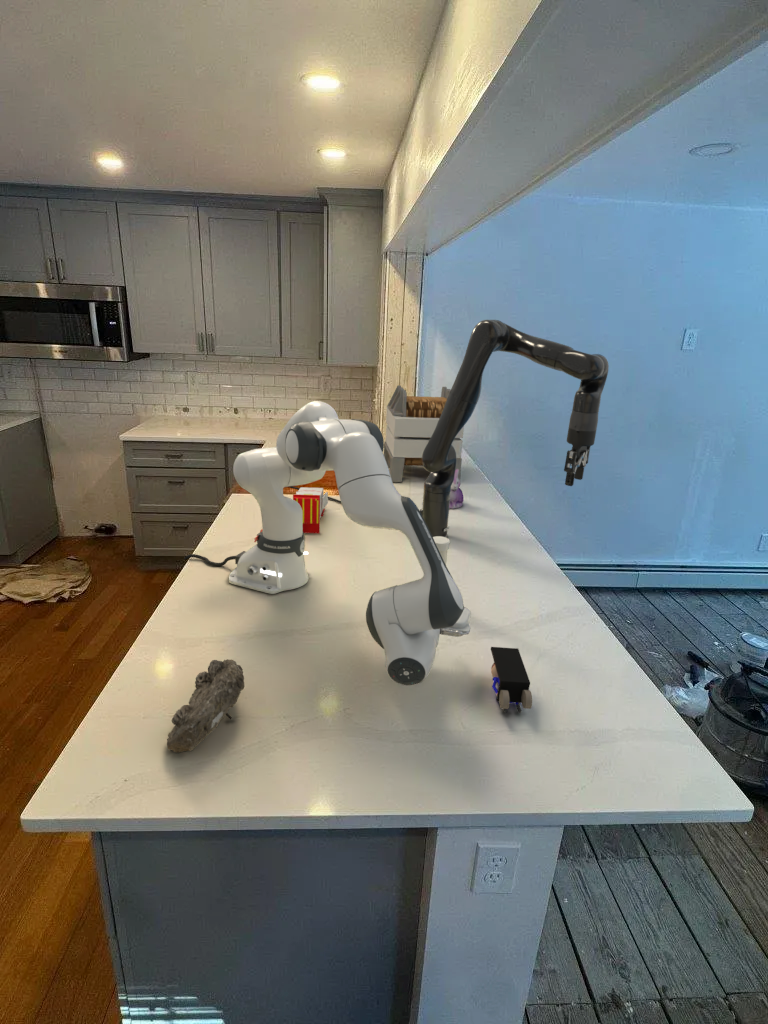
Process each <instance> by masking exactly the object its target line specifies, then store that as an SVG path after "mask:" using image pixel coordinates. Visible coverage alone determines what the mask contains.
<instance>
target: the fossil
mask: <svg viewBox="0 0 768 1024" xmlns="http://www.w3.org/2000/svg"><path fill="white" fill-rule="evenodd" d="M243 670H244V669H243V667H242V665H240V664H237V662H236V661H235V660H234V659H232V658H231V659H227V658H226V659H224V660H223V661H222V660H217V659H212V660H211V661H210V663H209V665H208V666H207V671H201V672H199V673H198V674H197V675H196V676H195V680H194V684H195V685H194V687H195V689H194V690H193V693H192V694H191V697H190V698H189V700H188V704H184V705H182V706H181V707H180V709H177V710H176V711H175V713H174V715H173V716H172V718H171V723H172V724H173V727H172V730H171V731H170V732H168V734H167V738H166V741H167V742H166V745H167V749H168V750H169V751H173V752H174V753H176V754H178V753H182V752H188V751H189V752H192V751H193V750H195V748H196V747H197V746H199V744H200V743H201V742H203V741H204V740H205V739H206V738H207V737H208V736H209V735H210V734H211V733H212V732H214V730H215V729H217V727H218V726H219V724H220V722H221V721H222V720H223V719H224V718H225V716H226V717H227V719H229V720H233V717H232V715H230V714H229V710H230V709H231V708H234V706H235V704H236V703H237V702H238V699H239V697H240V695H241V693H242V691H243V690H245V689H244V688H245V675H244V671H243Z"/></svg>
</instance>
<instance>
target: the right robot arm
mask: <svg viewBox="0 0 768 1024" xmlns="http://www.w3.org/2000/svg"><path fill="white" fill-rule="evenodd" d="M467 343H468V344H467V347H466V350H465V354H464V357H463V360H462V363H461V364H460V367H459V370H458V372H457V374H456V377H455V379H454V382H453V384H452V386H451V387H450V390H451V391H450V393H449V395H448V398H447V400H446V403H445V406H444V408H443V411H442V413H441V416H440V418H439V421H438V423H437V426H436V428H435V430H434V432H433V434H432V436H431V438H430V440H429V442H428V444H427V445H426V447H425V449H424V451H423V454H422V464H423V466H422V467H423V468H424V470H425V471H427V472H428V473H429V474H428V476H427V477H426V478H425V480H424V482H423V493H422V496H423V497H422V506H421V508H420V509H419V511H420V513H421V514H422V516H423V518H424V520H425V522H426V524H427V526H428V528H429V530H430V533H431V535H432V537H436V536H441V537H446V538H448V530H450V526H448V525H449V517H450V516H449V514H450V508H449V505H450V493H451V486H452V483H453V481H454V476H455V468H456V451H455V449H454V447H453V446H452V445H451V444H452V442H453V440H454V438H455V437H456V435H457V434H458V433H459V431H460V430H461V429H462V428H463V426H464V427H465V425H466V424H467V423H468V421H469V420H470V418H471V417H472V415H473V414H474V411H475V409H476V407H477V404H478V402H479V400H480V397H481V392H482V381H483V375H484V371H485V368H486V366H487V364H488V362H489V359H490V358H491V356H492V354H493V353H495V352H505V353H511V354H515V355H518V356H521V357H524V358H526V359H528V360H530V361H531V362H533V363H535V364H538V365H540V366H542V367H545V368H549V369H552V370H555V371H559V372H562V373H564V374H566V375H568V376H571V377H573V378H575V379H577V380H580V383H579V387H578V389H577V390H576V391H575V394H574V397H573V403H572V410H571V414H570V417H569V422H568V429H567V436H566V442H567V444H569V445H571V446H572V447H571V449H570V450H569V449H568V450H567V451H566V456H565V462H564V468H563V471H564V472H565V473H566V475H565V481H564V485H565V486H567V487H573V486H574V483H575V480H579V481H582V480H583V478H584V472H585V468H586V467H587V465H588V463H589V458H590V451H591V447H593V446H594V444H595V441H596V436H597V435H596V434H597V430H598V423H599V412H600V406H601V400H602V394H603V392H604V389H605V385H606V382H607V379H608V375H609V367H610V366H609V361H608V359H607V358H606V356H605V355H603V354H602V353H601V354H600V353H592V354H591V353H587V352H583V351H579V350H576V349H574V348H573V347H572V346H569V345H566V344H563V343H560V342H556V341H552V340H550V339H545V338H542V337H537V336H534V335H531V334H528V333H526V332H523V331H521V330H518V329H517V328H514V326H513V327H512V326H510V325H509V324H507V323H505V322H503V321H501V320H499V319H483V320H481V321H479V322H478V323H476V324H475V326H474V328H473V329H472V331H471V333H470V336H469V340H468V342H467ZM289 488H290V489H294V490H296V491H298V490H299V489H300V488H301V487H297V486H290V487H289ZM323 496H324V494H323ZM328 500H330V501H334V502H337V503H339V504H341V500H340V499H337V498H334V497H330V496H328Z"/></svg>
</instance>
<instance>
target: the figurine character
mask: <svg viewBox="0 0 768 1024" xmlns="http://www.w3.org/2000/svg"><path fill="white" fill-rule="evenodd" d="M490 653H491V655H492V659H493V663H492V665H491V667H490V673H491V676H492V684H491V688H492V689H493V692H494V693H495V695H496V702H499V704H498V705H499V708H500V709H502V710H503V712H504V713H505V714H507V713H508V709H509V708H510V704H515V707H516V708H515V709H516V711H517V713H519V714H521V713H522V708H523V709H527V710H528V709H529V710H530V709H532V707H533V695H532V691H531V690H530V686H531V681H530V679H529V675H528V673H527V670H526V667H525V664H524V662H523V657H522V655H521V652H520V649H519V648H514V647H501V646H490ZM497 685H498V687H497ZM520 704H521V705H520ZM521 706H522V708H521Z"/></svg>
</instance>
